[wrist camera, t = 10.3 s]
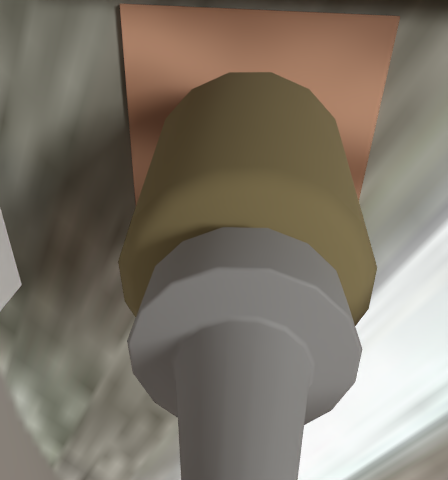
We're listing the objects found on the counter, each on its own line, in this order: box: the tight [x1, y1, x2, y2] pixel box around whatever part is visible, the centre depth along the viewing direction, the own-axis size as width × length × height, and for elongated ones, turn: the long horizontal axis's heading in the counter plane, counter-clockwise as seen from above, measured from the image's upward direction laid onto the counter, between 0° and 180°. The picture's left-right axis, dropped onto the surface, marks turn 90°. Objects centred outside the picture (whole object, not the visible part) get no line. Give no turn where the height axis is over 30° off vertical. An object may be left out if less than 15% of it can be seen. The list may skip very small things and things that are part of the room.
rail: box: [120, 4, 400, 205], centre depth 18 cm, size 16×28×3 cm, turn 88°
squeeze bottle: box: [118, 72, 377, 480], centre depth 13 cm, size 8×8×18 cm
